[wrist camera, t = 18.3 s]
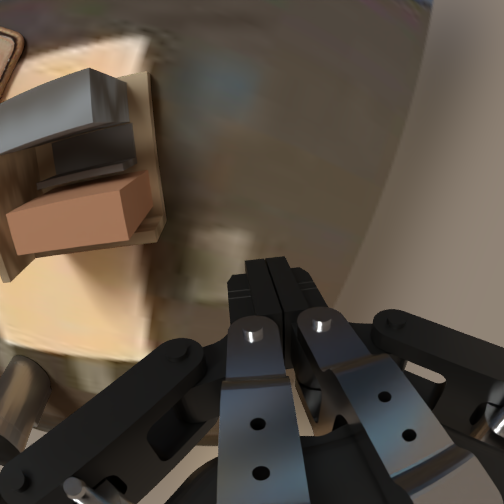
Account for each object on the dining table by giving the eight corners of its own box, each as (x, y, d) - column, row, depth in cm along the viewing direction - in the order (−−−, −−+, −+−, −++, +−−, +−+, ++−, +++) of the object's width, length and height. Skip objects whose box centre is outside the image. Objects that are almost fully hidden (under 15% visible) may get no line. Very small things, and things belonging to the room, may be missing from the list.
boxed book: (153, 205, 31) (129, 240, 22) (61, 220, 30) (17, 255, 21) (147, 169, 30) (119, 190, 20) (54, 188, 29) (5, 214, 20)
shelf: (167, 220, 34) (144, 268, 23) (52, 237, 32) (3, 282, 22) (150, 73, 27) (114, 48, 16) (30, 108, 25) (-34, 112, 15)
